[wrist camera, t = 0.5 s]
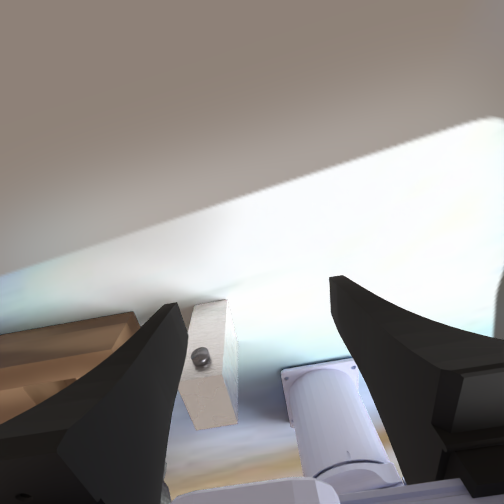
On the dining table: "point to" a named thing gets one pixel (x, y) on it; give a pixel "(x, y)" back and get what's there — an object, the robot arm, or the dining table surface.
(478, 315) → the dining table surface
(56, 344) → the slotted wooden frame
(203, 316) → the grey block with knob
